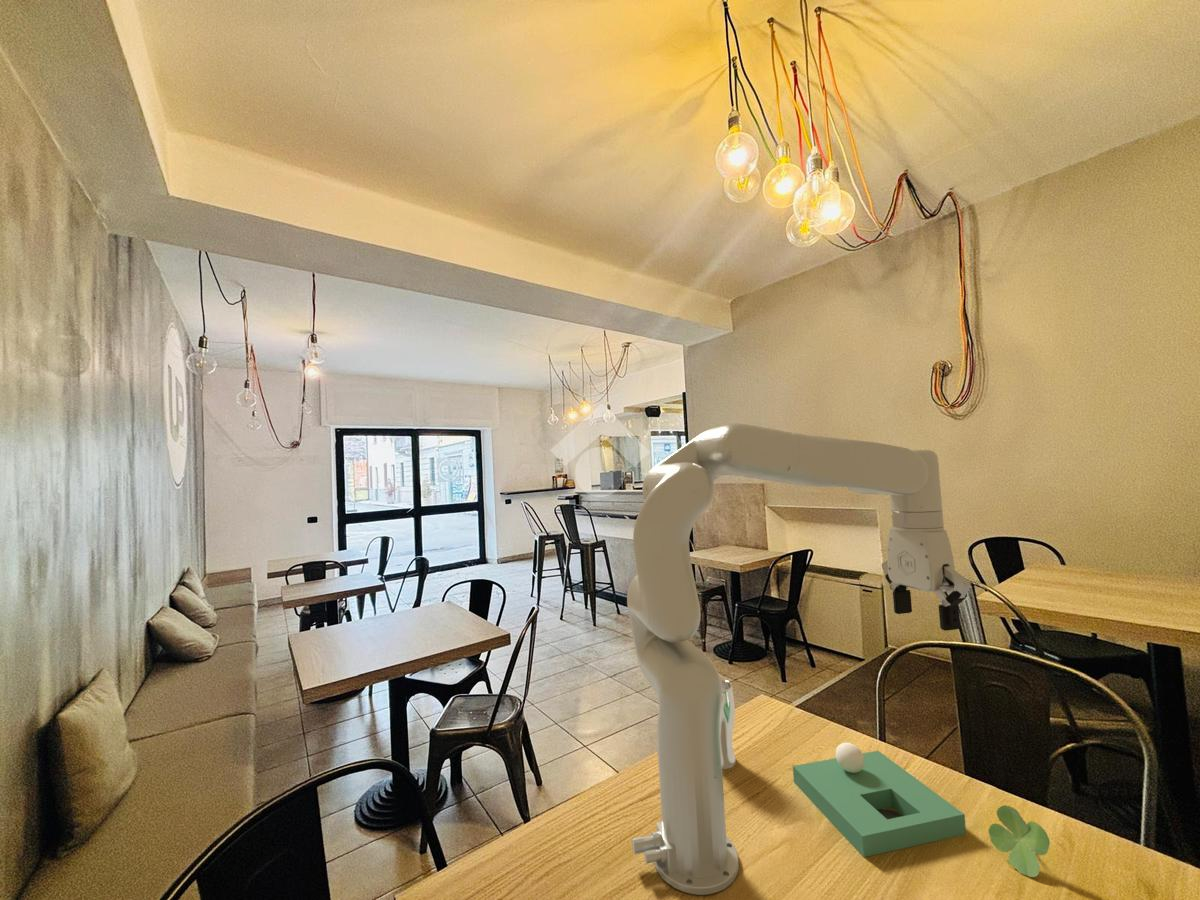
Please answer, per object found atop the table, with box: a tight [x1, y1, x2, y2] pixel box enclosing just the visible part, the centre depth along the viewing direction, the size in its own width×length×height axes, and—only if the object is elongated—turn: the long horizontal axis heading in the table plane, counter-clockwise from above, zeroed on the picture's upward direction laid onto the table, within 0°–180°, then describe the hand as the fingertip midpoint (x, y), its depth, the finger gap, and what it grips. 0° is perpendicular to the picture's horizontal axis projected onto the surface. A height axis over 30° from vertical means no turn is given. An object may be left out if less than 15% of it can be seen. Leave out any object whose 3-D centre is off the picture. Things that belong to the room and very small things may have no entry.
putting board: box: [792, 750, 967, 858], centre depth 83 cm, size 18×18×3 cm
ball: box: [835, 742, 864, 773], centre depth 88 cm, size 5×5×5 cm
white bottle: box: [720, 677, 736, 770], centre depth 98 cm, size 7×7×15 cm
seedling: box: [988, 804, 1051, 878], centre depth 71 cm, size 7×8×6 cm
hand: (925, 620), depth 84 cm, fingers open, 9 cm apart
